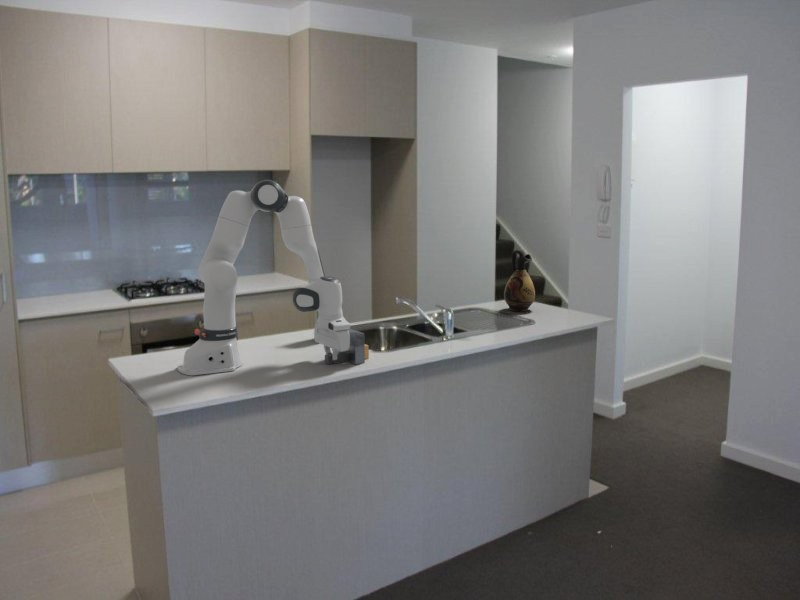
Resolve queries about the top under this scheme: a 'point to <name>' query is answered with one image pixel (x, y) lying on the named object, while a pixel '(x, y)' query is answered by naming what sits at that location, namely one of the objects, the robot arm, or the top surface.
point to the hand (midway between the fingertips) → (331, 358)
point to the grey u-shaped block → (356, 347)
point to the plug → (344, 356)
